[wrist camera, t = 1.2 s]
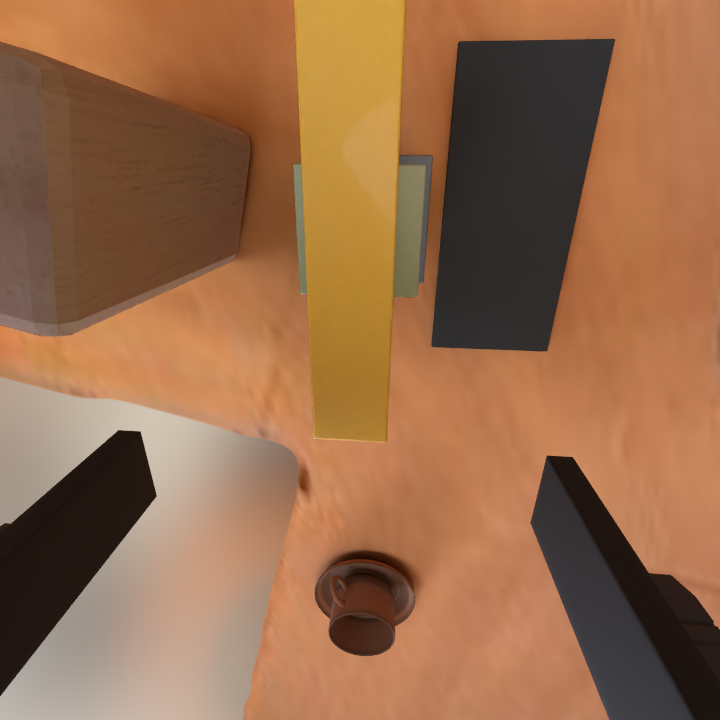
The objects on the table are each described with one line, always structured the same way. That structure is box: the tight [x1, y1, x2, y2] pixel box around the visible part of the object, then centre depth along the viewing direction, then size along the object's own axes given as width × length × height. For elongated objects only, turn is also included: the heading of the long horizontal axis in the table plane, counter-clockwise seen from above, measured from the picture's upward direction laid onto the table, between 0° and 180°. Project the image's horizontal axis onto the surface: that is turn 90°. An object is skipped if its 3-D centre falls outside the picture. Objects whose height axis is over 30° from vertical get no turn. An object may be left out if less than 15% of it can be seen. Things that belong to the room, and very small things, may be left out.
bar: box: [294, 0, 406, 443], centre depth 17 cm, size 18×4×4 cm, turn 179°
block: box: [0, 42, 251, 337], centre depth 23 cm, size 10×10×20 cm
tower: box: [293, 155, 433, 298], centre depth 25 cm, size 8×8×14 cm
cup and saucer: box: [315, 559, 415, 656], centre depth 46 cm, size 12×12×6 cm
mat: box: [432, 39, 615, 351], centre depth 31 cm, size 22×10×1 cm, turn 179°
